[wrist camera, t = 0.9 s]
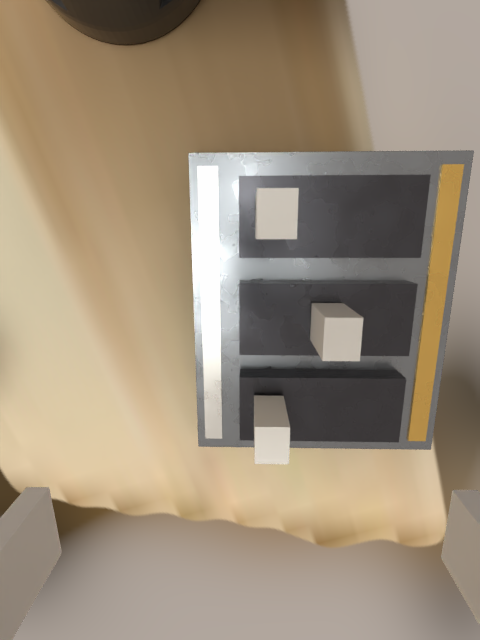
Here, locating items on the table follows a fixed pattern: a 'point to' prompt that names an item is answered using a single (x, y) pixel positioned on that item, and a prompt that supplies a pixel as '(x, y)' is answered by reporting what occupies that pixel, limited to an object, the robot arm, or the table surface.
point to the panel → (317, 271)
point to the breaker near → (276, 213)
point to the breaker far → (271, 430)
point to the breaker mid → (336, 332)
